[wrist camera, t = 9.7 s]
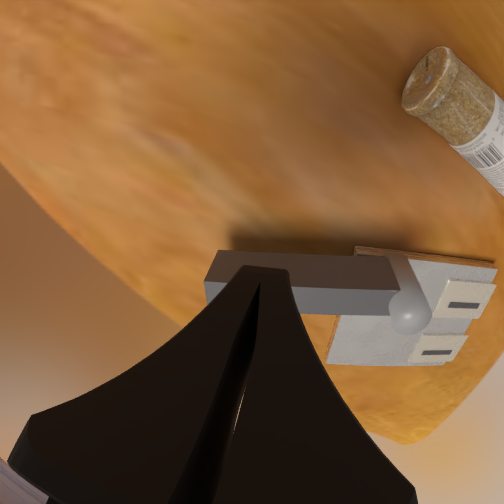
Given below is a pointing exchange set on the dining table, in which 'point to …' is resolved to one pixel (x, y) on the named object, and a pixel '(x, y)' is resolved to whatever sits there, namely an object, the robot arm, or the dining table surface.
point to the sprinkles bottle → (459, 111)
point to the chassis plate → (440, 326)
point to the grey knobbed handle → (337, 284)
